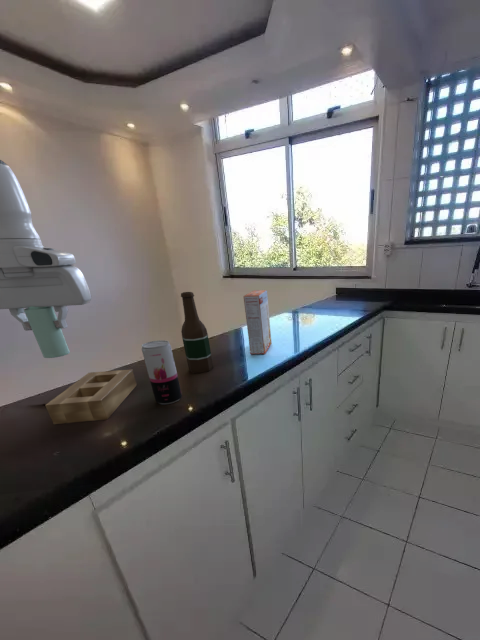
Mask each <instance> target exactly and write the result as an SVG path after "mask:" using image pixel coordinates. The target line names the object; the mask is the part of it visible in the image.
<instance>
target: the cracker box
mask: <svg viewBox="0 0 480 640" xmlns="http://www.w3.org/2000/svg"><path fill="white" fill-rule="evenodd" d="M268 297H269V296H268V290H267V289H254V290H251V291H250V292H248V293H247V294H244V295H243V305H244V314H245V320H246V321H245V322H246V327H247V328H246V329H247V336H248V337H247V338H248V345H249V353H250V355H266V353H267V351H268V350H269V348H270V347H271V346H272V334H271V332H272V330H271V322H270V310H269V298H268Z"/></svg>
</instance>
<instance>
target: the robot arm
mask: <svg viewBox="0 0 480 640" xmlns="http://www.w3.org/2000/svg"><path fill="white" fill-rule="evenodd" d="M29 205H30V204H29V202H28V200H27V197H26V195H25V192H24V191H23V189H22V186H21V184H20V181H19V179H18V177H17V176H16V174H15V173H14V170H13V169H12V168H11V167H10V165H9V164H7V163H6V162H4V161H3V160H2V159H0V310H9V313H10V315H11V316H12V317H13V318H15V319H16V320H17V321H18V322H19V323H21V326H22V328H23V330H24V331H25V332H26V331H27V332H28V331H29V332H30V331H32V328H31V326H30V324H29V321H28V319H27V316H26V314H25V312H24V309H26V308H29V307H31V306H34V307H52V306H53V308H54V311H55V313H57V320H54V321H53V322H54V324H55V327H56V328H57V329H61V330H62V329H67V328H68V327H69V326H68V322H67V320H66V319H67V315H68V312H69V309H68V306H70V307H71V306H84V305H87V304H89V303H90V302H91V300H92V293H91V291H90V288H89V287H90V286H89V285H88V282H87V279H86V277H85V275H84V273H83V272H82V271H81V269H79V268H78V267H77V266H75V265H76V264H77V260H76V257H75V255H74V254H73V253H71V252H68V251H65V250H61V249H56V248H52V247H49V246H44V245H43V241H42V239H41V236H40V235H39V233H38V232H37V231H36V228H35V226H34V223H33V218H32V217H33V214H32V210H31V208H30V206H29Z"/></svg>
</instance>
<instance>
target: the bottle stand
mask: <svg viewBox="0 0 480 640" xmlns="http://www.w3.org/2000/svg"><path fill="white" fill-rule="evenodd" d="M137 384H138V383H137V380H136V378H135V374H134V370H133V369H132V368H130V369H117V370H105V371H93V372H92V371H91V372H88V373H86V374H85V375H83V376H82V377H81V378H79V379H78V380H77V381H76V382H74V383H73V384H71V385H69V387H68V388H66V389H65V390H64V391H62V392H61V393H59V394H58V395H56V397H54V398H53V399H51V400H50V401H49V402H47V403H46V404H45V408H46V410H47V412H48V414H49V418H50V419H51V422H52V423H53V425H61V424H72V423H83V422H94V421H103V420H104V421H105V420H109V418H111V416H112V415H113V413H115V412H116V410H117V409H118V408H119V407H120V405H121V404H122V403H123V402H124V401H125V400H126V399H127V397H128V396H130V394H131V393H132V391H134V389H135V388H136V387H137Z"/></svg>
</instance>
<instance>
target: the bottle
mask: <svg viewBox="0 0 480 640" xmlns="http://www.w3.org/2000/svg"><path fill="white" fill-rule="evenodd" d="M24 315H25V316H26V317H27V319H28V321H29V324H30V326H31V328H32V330H31V331H32V333H33V336H34V338H35V340H36V342H37V343H36V344H37V345H38V347H39V349H40V352H41V354H42V357H43V358H45V359H55V358H60V357H64V356H67V355H69V354H70V353H71V351H70V349H69V345H68V343H67V340H66V338H65V335H64V332H63V330H62V329H57V328H56V327H55V324H54V322H53V321H54V320H57V318H58V315H57V314H56V312H55V310H54V307H53V306H52V307H34V306H31V307H29V308H24Z"/></svg>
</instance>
